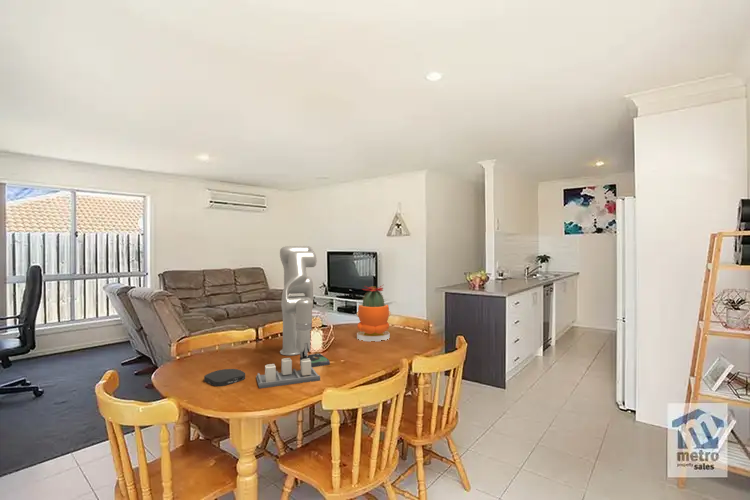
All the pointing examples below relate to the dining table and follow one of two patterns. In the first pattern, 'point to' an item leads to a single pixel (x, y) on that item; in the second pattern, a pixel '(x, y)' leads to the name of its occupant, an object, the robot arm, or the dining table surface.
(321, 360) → the disk drive
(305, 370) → the tab
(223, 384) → the media streaming box
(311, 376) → the grey divided tray
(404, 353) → the dining table surface
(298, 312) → the robot arm
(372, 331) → the potted cactus
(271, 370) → the tab
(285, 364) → the tab
